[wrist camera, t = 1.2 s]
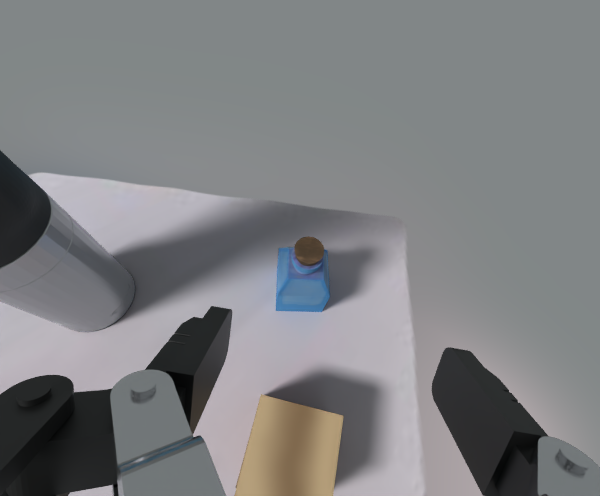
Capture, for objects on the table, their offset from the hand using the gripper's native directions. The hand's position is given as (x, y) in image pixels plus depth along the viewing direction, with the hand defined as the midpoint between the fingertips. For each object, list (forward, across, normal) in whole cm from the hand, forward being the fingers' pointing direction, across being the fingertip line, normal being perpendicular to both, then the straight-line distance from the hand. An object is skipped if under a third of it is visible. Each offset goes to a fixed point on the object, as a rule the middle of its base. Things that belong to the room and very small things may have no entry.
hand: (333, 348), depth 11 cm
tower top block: (+13, -1, +21) cm, 25 cm away
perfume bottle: (+29, +1, +11) cm, 31 cm away
